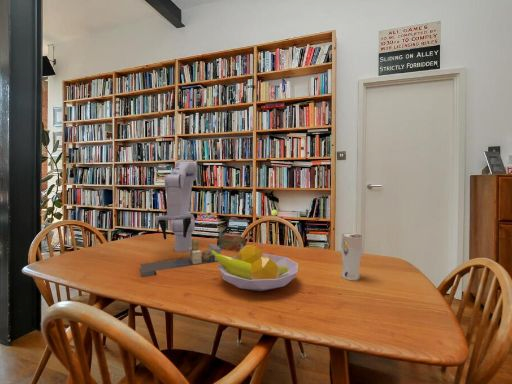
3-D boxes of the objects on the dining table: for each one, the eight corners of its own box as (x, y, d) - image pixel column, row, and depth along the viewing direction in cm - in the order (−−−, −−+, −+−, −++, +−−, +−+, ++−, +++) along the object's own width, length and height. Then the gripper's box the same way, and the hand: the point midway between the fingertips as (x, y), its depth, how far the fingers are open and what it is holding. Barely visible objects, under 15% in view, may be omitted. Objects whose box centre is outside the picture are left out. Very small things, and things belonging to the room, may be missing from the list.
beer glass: (351, 282, 89) (352, 238, 89) (336, 275, 96) (337, 234, 95) (365, 279, 93) (366, 236, 92) (350, 272, 99) (351, 232, 98)
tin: (216, 251, 125) (216, 234, 125) (220, 250, 128) (220, 232, 128) (244, 256, 118) (244, 237, 118) (247, 254, 121) (247, 236, 121)
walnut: (200, 258, 110) (200, 249, 109) (209, 257, 111) (209, 248, 111) (203, 261, 106) (203, 251, 106) (212, 259, 108) (211, 250, 108)
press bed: (140, 267, 103) (140, 251, 102) (215, 257, 116) (215, 243, 115) (142, 276, 94) (141, 258, 93) (223, 264, 107) (223, 248, 106)
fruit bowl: (299, 271, 100) (299, 241, 100) (294, 305, 74) (295, 264, 73) (228, 265, 106) (227, 237, 105) (199, 295, 79) (199, 257, 79)
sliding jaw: (189, 258, 110) (188, 238, 109) (196, 257, 111) (196, 237, 111) (193, 264, 103) (193, 242, 102) (201, 263, 104) (201, 241, 103)
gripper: (156, 206, 100) (156, 241, 101) (195, 204, 106) (195, 238, 107) (154, 204, 106) (155, 238, 107) (191, 203, 113) (191, 234, 114)
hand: (174, 237), depth 108 cm, fingers open, 7 cm apart
